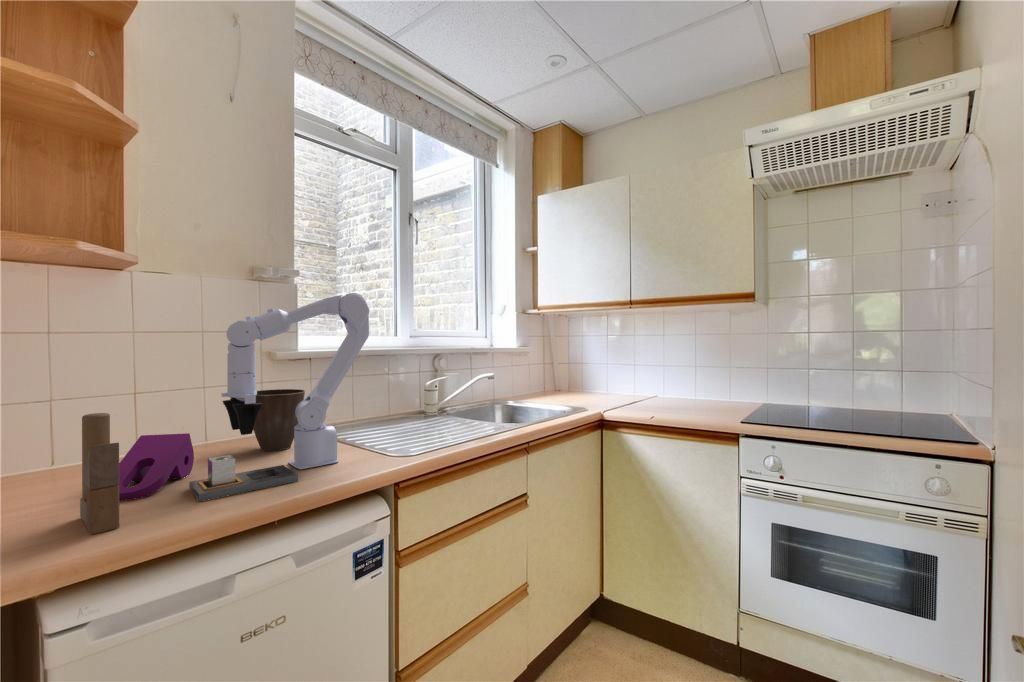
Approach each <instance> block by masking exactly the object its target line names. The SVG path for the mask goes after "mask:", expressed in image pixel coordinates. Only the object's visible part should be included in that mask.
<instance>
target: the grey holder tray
mask: <svg viewBox="0 0 1024 682" xmlns="http://www.w3.org/2000/svg"><path fill="white" fill-rule="evenodd" d="M260 478H261V479H260ZM253 479H255V480H253ZM296 482H299V474H298V473H296V472H295V471H294V470H291V469H290V468H289V467H287V466H285V465H284V464H281V465H275V466H269V467H264V468H260V469H254V470H247V471H242V472H235V483H232V484H226V485H221V486H216V487H211V488H208V478H204V479H198V480H194V481H189V482H188V483H189V485H188V486H189V489H188V490H189V491H190V490H191V491H190V492H191V494H192V495H193V494H194V495H195V496H194V495H193V496H194V497H195V499H196V498H197V499H198V500H197V499H196V500H197V501H198V502H199V501H202V502H204V501H203V500H206V501H209V500H208V499H211V500H213V499H212V498H216V499H218V498H217V497H221V498H223V497H222V496H226V497H228V496H227V495H230V496H234V495H233V494H235V495H239V494H238V493H240V494H243V493H242V492H245V493H248V492H247V491H249V492H253V491H252V490H254V491H258V490H257V489H259V490H264V489H268V488H272V486H273V487H278V486H282V485H287V484H291V483H292V484H293V483H296ZM267 487H268V488H267ZM263 488H264V489H263Z"/></svg>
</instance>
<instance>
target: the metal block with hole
mask: <svg viewBox="0 0 1024 682" xmlns="http://www.w3.org/2000/svg"><path fill="white" fill-rule="evenodd" d="M235 474H236V458H235V457H234V456H233V455H231V454H229V455H221V456H216V457H209V458H207V479H208V488H211V487H216V486H221V485H226V484H232V483H235Z"/></svg>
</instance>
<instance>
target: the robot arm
mask: <svg viewBox="0 0 1024 682" xmlns="http://www.w3.org/2000/svg"><path fill="white" fill-rule="evenodd" d="M321 315H331V316H336V315H338V316H339V318H340V319H341V320H342V321H343V324H344V325H345V329H346V332H347V334H346V336H345V337H344V338H343V339H344V340H343V341H342V342H341V344H340V346H339V347H338V349H337V351H336V352H335V354H334V356H333V357H332V358H331V360H330V361H329V363H328V365H327V367H326V368H325V370H324V371H323V373H322V374H321V376H320V378H319V380H318V382H317V383H316V385H314V388H313V389H312V390H311V391H310V392H309V393H308V395H307V396H306V398H304V400H303V401H301V402H300V403H299V404H298V405H297V407H296V410H295V414H296V417H297V420H298V424H297V425H296V426H295V427H294V440H293V448H294V451H293V452H294V456H293V457H294V459H293V460H289V461H288V464H289V465H291V466H292V467H294V468H296V469H297V470H304V469H310V468H315V467H316V468H317V467H321V466H326V465H330V464H336V463H339V460H338V435H337V431H336V428H335V427H334V426H333V425H327V424H326V423H325V421H326V417H327V410H328V409H329V406H330V405H331V402H332V398H333V396H334V394H335V393H336V391H337V389H338V388H339V386H340V384H341V383H342V381H343V380H344V378H345V376H346V375H347V373H348V371H349V369H350V368H351V366H352V365H353V363H354V361H355V360H356V358H357V357H358V355H359V353H360V352H361V350H362V349H363V347H364V345H365V343H366V342H367V340H368V338H369V335H370V321H369V315H370V308H369V306H368V304H367V301H366V299H365V298H364V297H363V296H362V295H361V294H359V293H357V292H350V293H349V292H348V293H346V294H345V295H343V294H342V295H340V294H339V295H335V296H330V297H329V296H328V297H326V298H325V297H324V298H321V299H320V300H317V301H315V302H311V303H309V304H308V303H307V304H305V305H303V306H301V307H297V308H295V309H292V310H289V311H285V310H282V309H280V308H276V309H274V308H273V307H272V308H269V309H267V312H265V313H262V314H259V315H256V316H252V317H251V316H246V317H245V320H237V321H236V322H233V323H232V324H230V325H229V326H228V328H227V330H226V338H227V340H228V341H229V343H228V345H227V351H228V352H227V355H226V356H227V357H226V359H227V362H226V363H227V375H226V376H227V377H226V378H227V381H226V382H227V384H226V385H227V392H221V395H220V396H221V397H222V398H226V397H227V398H229V399H225V400H222V404H223V405H224V408H225V409H226V411H227V413H228V414H227V415H228V417H229V422H230V427H231V429H232V430H233V431H236V430H239V432H240V435H241V436H247V435H252V434H253V432H254V430H253V428H254V424H255V420H256V417H257V414H258V412H259V410H260V408H261V407H262V403H256V395H257V391H258V390H257V353H256V352H255V351H256V350H255V346H256V345H255V341H256V340H260V341H264V340H266V339H269V338H272V337H274V336H278V335H282V334H284V333H287V332H289V330H290V329H291V326H292V325H293V324H296V323H298V322H302V321H304V320H305V321H306V320H308V319H311V318H314V317H318V316H321Z"/></svg>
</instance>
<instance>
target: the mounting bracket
mask: <svg viewBox="0 0 1024 682" xmlns="http://www.w3.org/2000/svg"><path fill="white" fill-rule="evenodd" d="M194 460H195V452H194V447H193V442H192V438H191V435H190V433H186V432H185V433H168V434H166V433H165V434H147V435H146V434H145V435H144V434H143V435H140V436H139V437H138V438H137V440H136V441H135V442H134V444H133V445H132V447H130V449H129V450H128V452H126V453H125V455H124V457H123V458H122V459H121V460H120V461H119V501H126V500H125V499H132V500H135V499H134V498H139V499H142V498H141V497H143V498H145V496H146V497H148V496H150V495H152V494H154V493H155V492H157V491H159V490H160V489H161V488H162V487H163V486H164V485H165V484H166V483H167V480H168V479H170V480H181V478H184V477H185V478H187V477H188V476H189V475H191V472H192V469H193V466H194ZM187 475H188V476H187ZM186 476H187V477H186ZM185 478H184V479H185ZM133 481H137V482H139V483H137V484H135V485H133V486H129V485H130V484H131V483H132V482H133Z"/></svg>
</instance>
